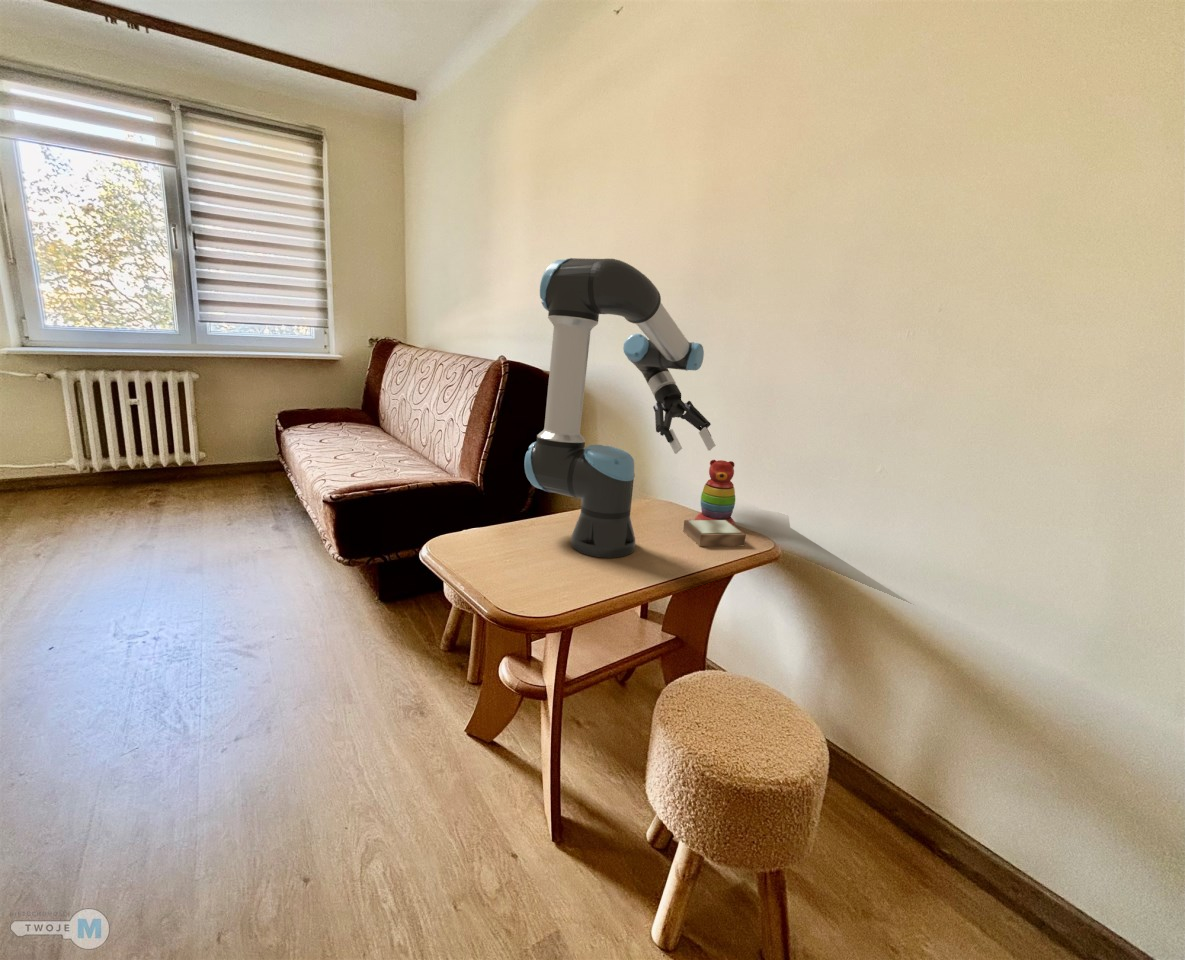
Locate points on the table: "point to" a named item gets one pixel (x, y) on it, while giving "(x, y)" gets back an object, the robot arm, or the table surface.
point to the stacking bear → (718, 493)
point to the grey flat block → (713, 533)
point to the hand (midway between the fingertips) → (695, 449)
